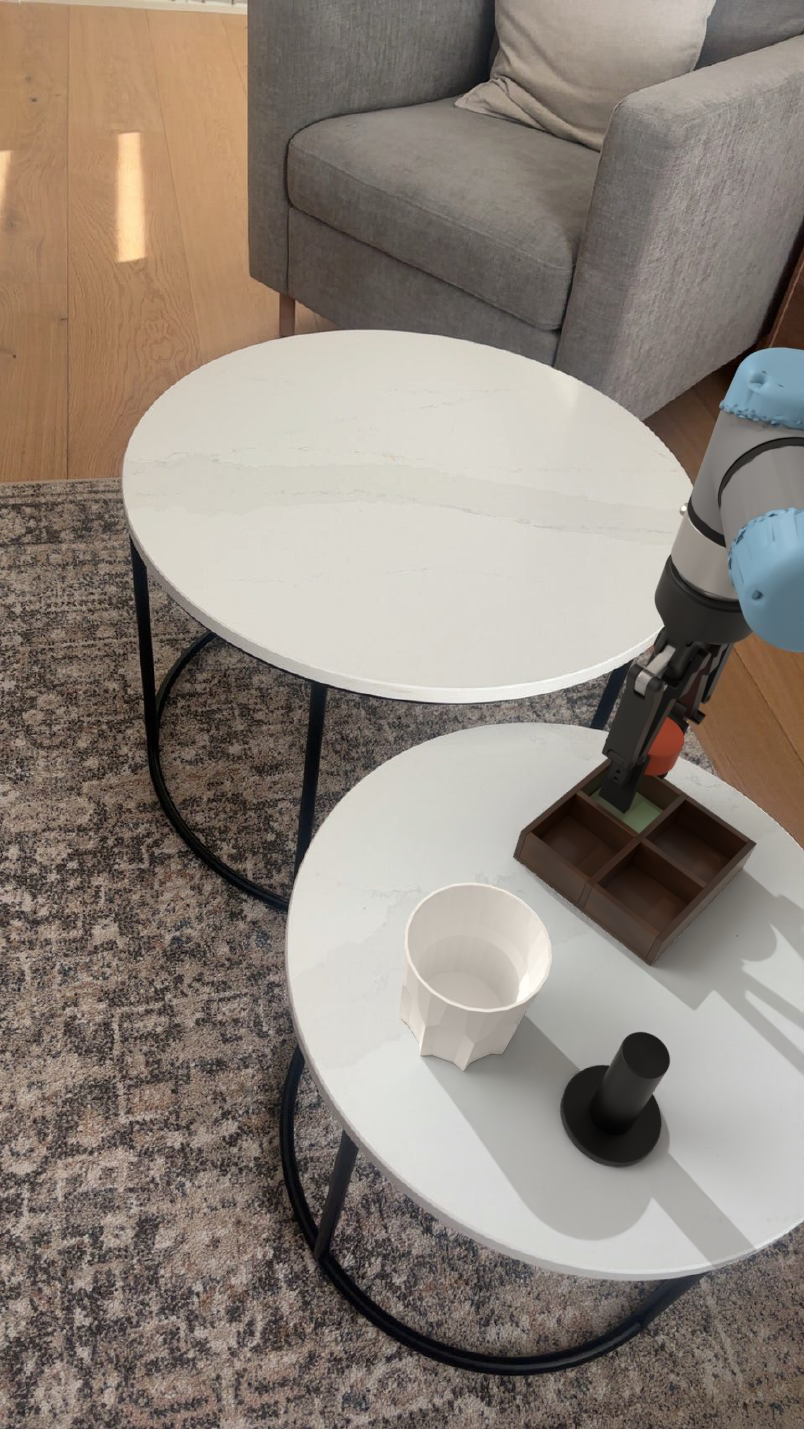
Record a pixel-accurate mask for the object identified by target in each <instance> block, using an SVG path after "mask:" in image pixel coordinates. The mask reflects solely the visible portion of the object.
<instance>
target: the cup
mask: <svg viewBox="0 0 804 1429" xmlns="http://www.w3.org/2000/svg"><path fill="white" fill-rule="evenodd" d="M403 941H404V945H403V947H404V948H403V960H402V961H403V962H402V963H403V964H402V980H401V981H402V984H401V993H400V994H401V995H400V1003H399V1004H400V1005H399V1017H398V1018H399V1019H400V1020H401V1021H403V1022H404V1023H406V1024H407V1025H408V1026H409V1028H410V1029H411V1032H412V1033H413V1035H414V1038H415V1039H416V1041H417V1043H418V1047H419V1056H420V1057H422V1056H434V1057H437V1058H439V1059H441V1060H445V1061H447V1062H450V1063H453V1064H455V1066H457V1067H458V1068H459V1069H460V1071H462V1072H464V1071H465V1070H466V1069H467V1068H468V1067H469V1065H470V1064H471V1063H473V1062H475V1061H478V1060H479V1059H483V1058H485V1057H487V1056H489V1055H504V1052H505V1050H506V1049H507V1047H508V1045H509V1043H510V1041H511V1039H512V1038H513V1036H514V1034H515V1032H516V1031H517V1029H518V1027H519V1025H520V1023H521V1022H522V1020H523V1018H524V1016H525V1015H526V1013H527V1012H528V1010H529V1008H530V1006H531V1004H532V1003H533V1001H534V1000H535V998H536V997H537V996H538V993H539V992H540V990H541V988H542V987H543V986H544V984H545V982H546V980H547V979H548V977H549V974H550V969H551V967H552V961H553V954H552V953H553V952H552V942H551V940H550V937H549V934H548V931H547V927H546V926H545V924H544V923H543V922H542V920H541V919H540V917H539V915H538V914H537V912H536V911H535V910H533V909H532V907H530V906H529V904H527V903H526V902H525V901H524V900H523V899H521V898H520V897H518V896H516V895H514V894H513V893H511V892H509V891H508V890H506V889H503V888H500V887H497V886H494V885H491V884H488V883H480V882H470V881H469V882H460V883H452V884H449V885H446V886H443V887H440V888H438V889H437V888H436V889H435V890H433V891H432V892H430V893H429V894H428V895H426V896H425V897H423V898H422V899H421V900H419V902H418V904H416V906H415V907H414V908H413V910H412V911H411V912H410V915H409V917H408V920H407V922H406V925H405V928H404V940H403Z"/></svg>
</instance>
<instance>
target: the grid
mask: <svg viewBox="0 0 804 1429" xmlns="http://www.w3.org/2000/svg"><path fill="white" fill-rule="evenodd" d="M610 763H611V760H610V759H609V758H607V757H606V758H605V760H603V761H602V762H601V763H600V764H599V765H598V766H596V767H595V768H594V769H593V770H592V771H591V772H589V773H588V774H587V775H586V776H585V777H583V778H582V779H580V781H578V782H577V783H576V784H575V785H574V786H572V788H570V789H569V790H568V791H566V793H564V794H563V795H562V796H561V797H559V798H558V799H557V800H556V801H555V802H554V803H553V804H551V805H550V806H548V808H546V809H545V810H544V811H543V812H542V813H541V814H539V815H538V816H537V817H535V818H534V819H533V820H532V821H531V822H530V823H528V824H527V825H526V826H524V828H522V829H521V830H520V831H519V836H518V839H517V842H516V846H515V849H514V852H513V855H512V857H513V858H514V859H516V860H517V862H519V863H520V864H522V865H523V866H524V867H525V868H527V870H529V871H530V872H532V873H533V874H534V875H535V876H537V877H538V878H539V879H540V880H542V881H543V882H544V883H545V884H547V885H548V886H549V887H550V888H552V889H553V890H554V891H556V892H557V893H558V894H559V895H560V896H561V897H563V898H564V899H565V900H566V901H568V902H569V903H571V904H572V905H573V906H574V907H575V908H576V909H578V910H579V911H581V912H582V913H583V914H584V915H585V916H586V917H588V918H589V919H591V920H592V921H593V922H594V923H595V924H596V925H598V926H599V927H600V928H602V929H603V930H604V931H606V932H607V933H608V934H609V935H610V936H612V937H613V938H614V939H615V940H617V941H618V942H619V943H620V944H622V945H623V946H624V947H625V948H627V949H628V950H629V951H631V952H632V954H634V955H636V956H637V957H638V958H639V959H640V960H642V961H643V963H645V964H647V965H648V966H649V967H651V966H652V965H653V964H654V963H656V961H657V960H658V959H659V958H660V957H661V956H662V955H663V954H664V953H665V952H666V950H668V949H669V947H671V945H672V944H673V943H674V942H676V940H677V939H678V938H679V937H680V936H681V935H682V934H683V933H684V931H686V929H687V928H688V927H689V926H690V925H691V924H692V923H693V922H694V921H695V920H696V919H697V918H698V917H699V916H700V915H701V913H703V911H704V910H705V909H706V908H707V907H708V906H709V905H710V904H711V903H712V902H713V901H714V900H715V898H716V897H717V896H718V895H719V894H721V892H722V891H724V889H725V888H726V887H727V886H728V885H729V884H730V883H731V882H732V880H734V878H735V877H736V876H737V875H738V874H739V873H740V872H741V871H742V870H743V869H744V868H745V866H746V864H747V862H748V860H749V858H750V857H751V855H752V853H753V852H754V850H755V848H756V846H757V844H758V843H757V842H756V841H755V840H753V839H751V838H750V837H748V836H747V835H745V834H744V833H743V832H741V831H740V830H739V829H737V828H736V827H734V826H733V825H731V824H730V823H729V822H727V821H726V820H724V819H722V818H721V817H720V816H719V815H717V814H716V813H714V812H713V811H712V810H710V809H708V808H707V807H706V806H704V805H703V804H702V803H700V802H699V801H698V800H696V799H694V798H693V797H692V796H691V795H689V794H687V793H686V792H684V791H683V790H682V789H680V788H679V787H678V786H676V785H675V784H673V783H672V782H671V781H669V780H668V779H666V777H665V778H663V779H662V780H661V779H660V778H659V777H657V776H651V775H643V778H642V780H641V782H640V785H639V787H638V790H637V792H636V794H635V797H634V799H633V802H632V804H631V806H630V809H629V810H628V811H627V812H626V813H625V814H623V813H622V812H621V811H619V810H618V809H617V808H615V807H614V806H612V805H611V804H610V803H608V802H607V801H606V800H604V799H603V798H602V797H600V796H599V795H598V794H599V792H600V789H601V786H602V784H603V781H604V778H605V776H606V773H607V771H608V768H609V765H610Z"/></svg>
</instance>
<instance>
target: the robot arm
mask: <svg viewBox="0 0 804 1429" xmlns="http://www.w3.org/2000/svg"><path fill="white" fill-rule="evenodd" d="M732 378H733V379H732V381H731V383H730V385H729V388H728V390H727V392H726V394H725V396H724V398H723V399H722V400H721V401H720V403H719V406H718V407H719V409H720V411H719V413H718V417H717V419H716V422H715V425H714V428H713V431H712V434H711V436H710V439H709V442H708V444H707V447H706V451H705V453H704V456H703V459H702V462H701V465H700V467H699V470H698V473H697V475H696V478H695V482H694V484H693V487H692V490H691V492H690V496H689V498H688V501H687V502H684V503H683V504H682V505H681V506H680V507H679V511H678V513H679V514H680V515H681V516H682V519H681V522H680V524H679V528H678V529H677V533H676V535H675V538H674V541H673V543H672V547H671V549H670V550H671V551H670V554H669V555H668V557H667V559H666V561H665V564H664V567H663V569H662V572H661V574H660V578H659V580H658V583H657V586H656V587H655V588H656V589H655V591H654V605H655V609H656V611H657V613H658V615H659V617H660V619H661V621H662V623H663V626H662V628H661V629H660V630H659V632H658V634H657V636H656V637H655V639H654V642H653V651H652V653H651V655H650V657H649V659H648V661H647V663H646V665H645V667H643V666H641V665H640V664H639V663H637V662H636V663H634V664H632V666H631V667H629V669H628V671H627V674H626V678H625V679H626V680H625V688H624V691H623V693H622V697H621V699H620V702H619V704H618V707H617V710H616V712H615V715H614V718H613V720H612V722H611V723H612V724H611V726H610V729H609V731H608V734H607V736H606V738H605V741H604V745H603V747H602V750H601V754H602V755H603V756H605V757H606V759H607V758H609V759H610V760H611V763H610V765H609V768H608V771H607V773H606V776H605V778H604V781H603V784H602V786H601V789H600V792H599V794H598V795H599V796H600V797H602V798H603V799H604V800H606V801H607V802H608V803H610V804H611V805H612V806H614V807H615V808H617V809H618V810H619V811H621V812H622V813H623V814H625V813H626V812H627V811H628V810H629V809H630V806H631V804H632V802H633V799H634V797H635V794H636V792H637V790H638V787H639V785H640V782H641V780H642V778H643V775H644V773H645V770H646V768H647V766H648V763H649V761H650V759H651V758H650V757H649V756H647V754H648V752H649V750H650V748H651V746H652V745H653V743H654V741H655V739H656V737H657V735H658V733H659V731H660V729H661V728H662V726H663V724H664V722H665V720H666V718H667V717H668V718H670V719H671V720H673V721H674V722H675V723H676V724H677V725H678V726H679V727H680V729H681V730H682V732H683V735H684V736H685V735H686V733H687V730H688V728H689V727H690V723H689V722H692V723H693V724H695V725H696V726H699V725H701V723H702V722H703V721H704V720H705V718H706V716H707V714H706V713H704V712H703V711H702V710H700V706H701V704H702V705H706V704H707V703H709V702H710V701H711V699H712V695H713V693H714V691H715V689H716V686H717V684H718V683H719V680H720V678H721V675H722V673H723V671H724V669H725V667H726V665H727V662H728V660H729V658H730V656H731V653H732V650H733V649H734V646H735V645H736V643H738V642H739V643H740V642H742V641H743V640H745V639H747V638H748V637H749V636H751V635H752V634H753V633H754V634H755V635H756V636H757V637H758V638H759V639H761V640H763V641H764V642H765V643H766V644H769V645H770V646H772V647H774V648H777V649H780V650H783V651H787V652H793V653H803V654H804V350H803V349H798V348H790V347H768V348H765V349H764V348H763V349H760V350H757V351H755V352H753V353H751V354H749V355H748V356H746V357H745V358H744V359H743V361H741V362H740V364H739V366H738V367H737V369H736V372H735V374H734V377H732ZM688 720H689V722H688ZM668 774H669V772H667V773H665V774H662V775H656V776H657V777H659V778H660V779H661V780H662V779H663V778H665V779H666V777H667V776H668Z"/></svg>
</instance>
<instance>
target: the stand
mask: <svg viewBox="0 0 804 1429" xmlns="http://www.w3.org/2000/svg"><path fill="white" fill-rule="evenodd" d="M670 1065H671V1057H670V1053H669V1050H668V1047H667V1046H666V1044H665V1043H664V1042H663V1041H662V1040H661V1039H660V1038H659V1037H657V1036H656V1035H654V1034H652V1033H649V1032H646V1031H636V1032H632V1033H630V1034H628V1035H627V1036H626V1037H625V1038H623V1040H622V1042H621V1043H620V1046H619V1048H618V1049H617V1051H616V1053H615V1056H614V1057H613V1059H612V1060H611V1063H610V1064H598V1065H592V1066H588V1067H585V1068H583V1069H581V1070H580V1071H579V1072H577V1073H576V1074H575V1075H574V1076H573V1077H572V1078H571V1079H570V1080H569V1081H568V1083H567V1084H566V1087H565V1089H564V1091H563V1093H562V1096H561V1101H560V1109H559V1110H560V1119H561V1123H562V1126H563V1129H564V1132H565V1133H566V1135H567V1137H568V1139H569V1140H570V1142H571V1143H572V1144H573V1145H574V1146H575V1148H576V1149H577V1150H578V1151H579V1152H580V1153H582V1154H583V1156H585V1157H587V1158H588V1159H590V1160H592V1161H594V1162H596V1163H598V1164H601V1165H603V1166H608V1167H613V1168H614V1167H616V1168H623V1167H628V1166H633V1165H635V1164H638V1163H639V1162H642V1161H643V1160H644V1159H645V1158H646V1157H648V1156H649V1155H650V1153H651V1152H652V1151H653V1149H654V1148H655V1146H656V1145H657V1144H658V1142H659V1139H660V1136H661V1132H662V1126H663V1124H662V1115H661V1114H662V1113H661V1109H660V1106H659V1104H658V1101H657V1098H656V1097H655V1096H654V1092H655V1091H656V1089H657V1087H658V1085H659V1084H660V1082H662V1079H663V1078H664V1076H665V1075H666V1073H667V1071H668V1070H669V1068H670Z"/></svg>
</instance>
